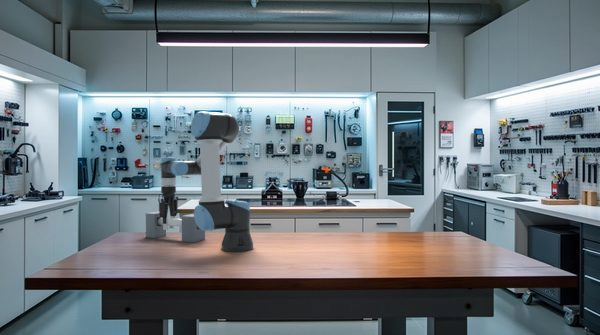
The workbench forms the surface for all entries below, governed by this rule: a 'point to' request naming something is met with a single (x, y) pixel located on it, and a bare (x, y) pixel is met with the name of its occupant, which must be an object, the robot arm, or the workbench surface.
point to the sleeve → (191, 229)
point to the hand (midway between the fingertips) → (168, 228)
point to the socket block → (153, 225)
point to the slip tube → (170, 222)
